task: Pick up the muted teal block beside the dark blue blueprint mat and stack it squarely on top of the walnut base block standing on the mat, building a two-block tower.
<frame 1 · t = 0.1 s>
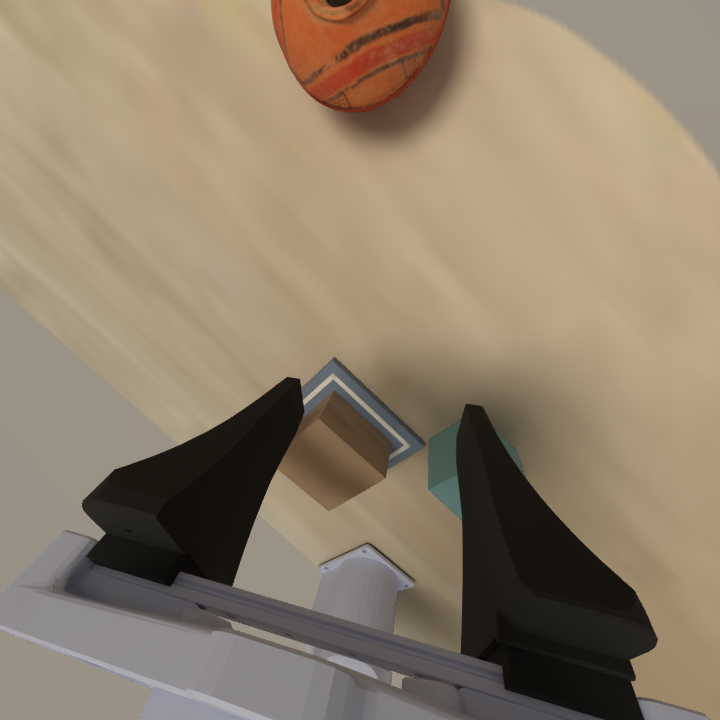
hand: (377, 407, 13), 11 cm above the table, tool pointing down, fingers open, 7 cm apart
blueprint mat: (339, 432, 28), on the table
spinning top toy: (372, 38, 16), on the table
walnut base block: (338, 436, 27), point 1 cm above the table, touching blueprint mat
teal block: (471, 444, 25), on the table
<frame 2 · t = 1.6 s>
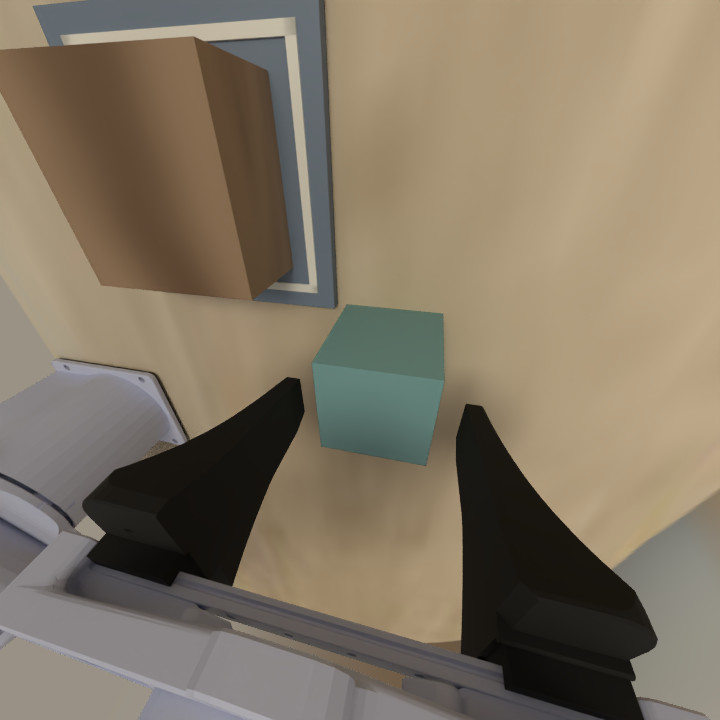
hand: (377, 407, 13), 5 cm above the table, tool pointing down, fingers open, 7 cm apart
blueprint mat: (217, 181, 14), on the table
walnut base block: (209, 183, 13), point 1 cm above the table, touching blueprint mat
teal block: (390, 348, 17), on the table
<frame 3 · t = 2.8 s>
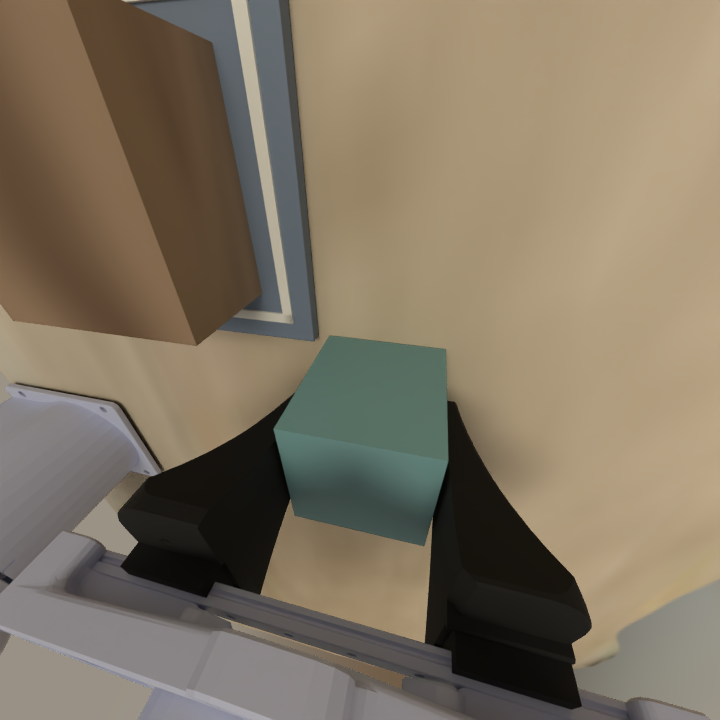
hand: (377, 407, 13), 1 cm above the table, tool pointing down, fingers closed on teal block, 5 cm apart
blueprint mat: (165, 188, 11), on the table
walnut base block: (152, 190, 10), point 1 cm above the table, touching blueprint mat
teal block: (382, 386, 14), on the table, touching gripper
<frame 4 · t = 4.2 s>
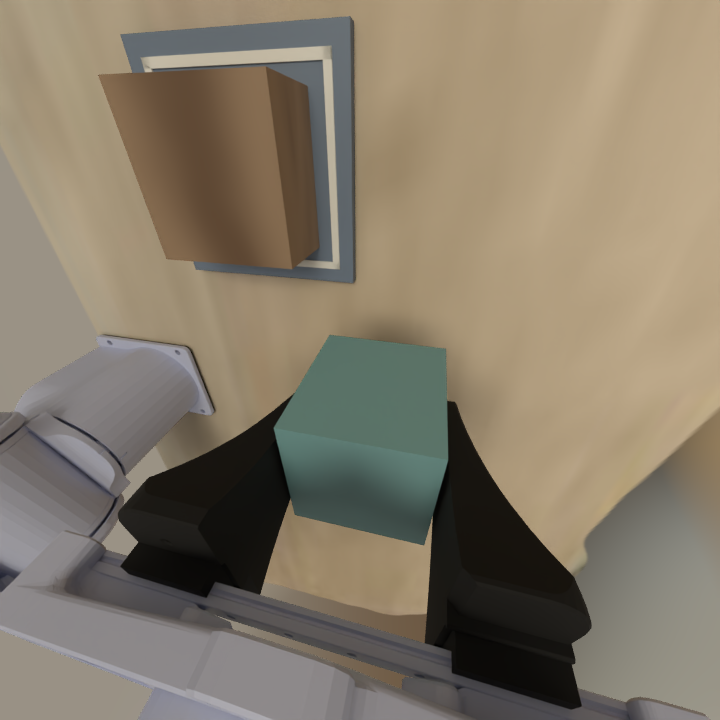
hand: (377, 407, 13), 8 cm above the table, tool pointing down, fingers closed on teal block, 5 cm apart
blueprint mat: (258, 175, 16), on the table
walnut base block: (252, 175, 16), point 1 cm above the table, touching blueprint mat
teal block: (383, 386, 14), point 7 cm above the table, touching gripper
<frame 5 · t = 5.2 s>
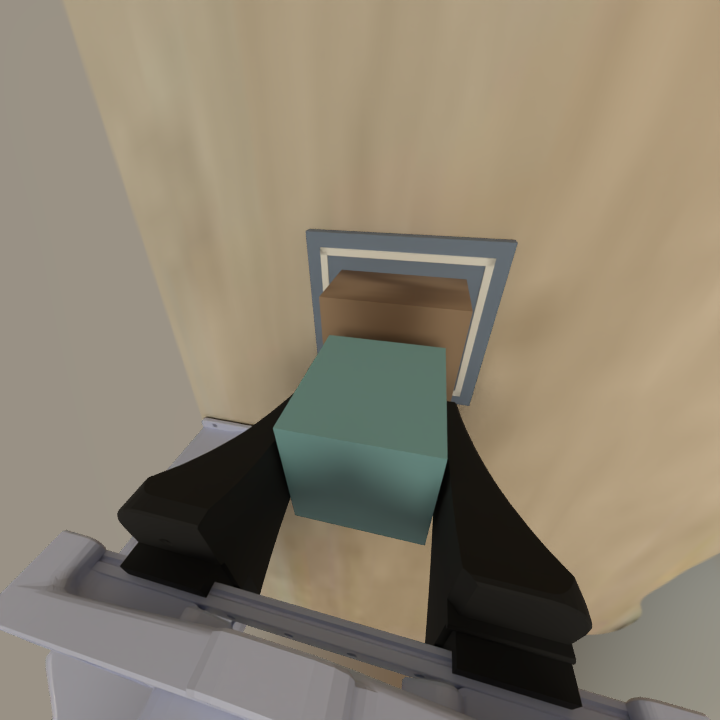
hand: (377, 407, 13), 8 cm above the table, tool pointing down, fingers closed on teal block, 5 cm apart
blueprint mat: (398, 324, 19), on the table
walnut base block: (397, 328, 19), point 1 cm above the table, touching blueprint mat
teal block: (383, 386, 14), point 6 cm above the table, touching gripper
when the fingers open (7 cm above the table, at t = 5.8 s): teal block stays where it is, resting on walnut base block.
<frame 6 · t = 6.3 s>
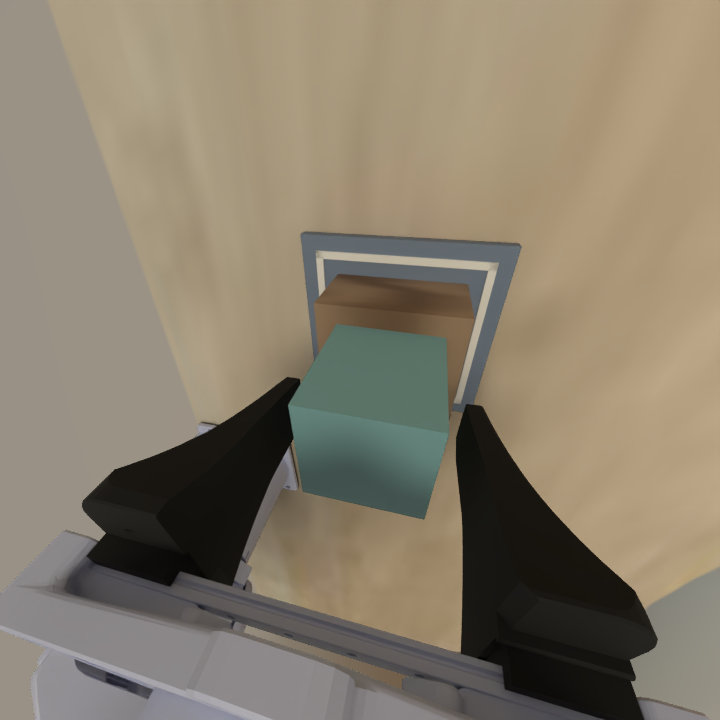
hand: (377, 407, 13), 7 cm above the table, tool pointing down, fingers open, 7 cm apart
blueprint mat: (397, 329, 19), on the table
walnut base block: (395, 334, 18), point 1 cm above the table, touching blueprint mat, teal block
teal block: (386, 374, 15), point 5 cm above the table, touching walnut base block
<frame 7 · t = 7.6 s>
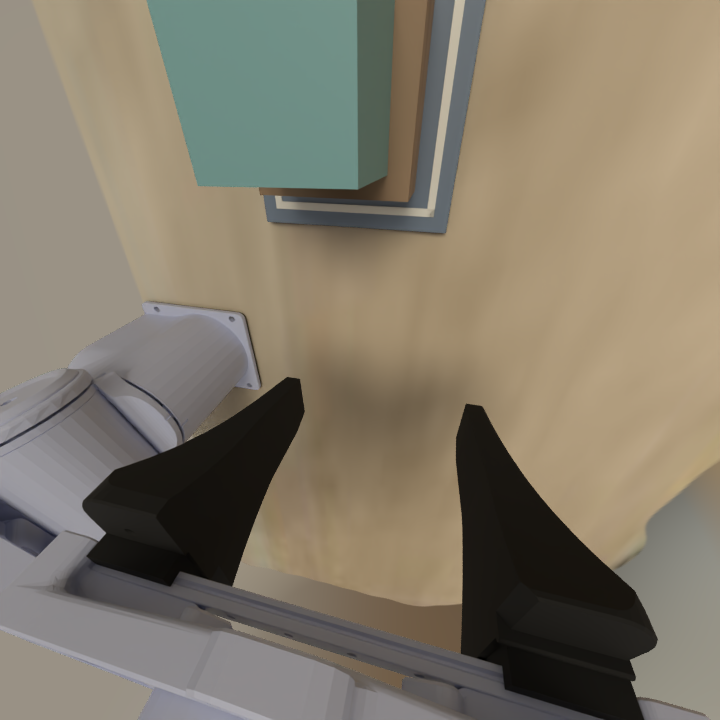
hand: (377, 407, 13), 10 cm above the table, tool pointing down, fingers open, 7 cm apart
blueprint mat: (354, 108, 15), on the table
walnut base block: (351, 107, 15), point 1 cm above the table, touching blueprint mat, teal block
teal block: (326, 98, 12), point 5 cm above the table, touching walnut base block
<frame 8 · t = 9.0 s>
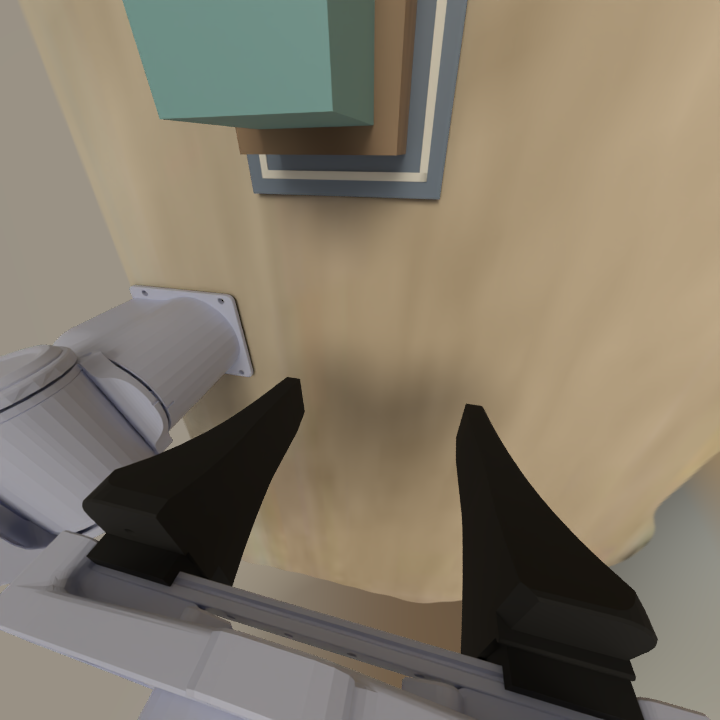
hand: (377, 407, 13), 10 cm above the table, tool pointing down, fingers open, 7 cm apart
blueprint mat: (340, 64, 14), on the table
walnut base block: (337, 62, 14), point 1 cm above the table, touching blueprint mat, teal block
teal block: (306, 39, 11), point 5 cm above the table, touching walnut base block
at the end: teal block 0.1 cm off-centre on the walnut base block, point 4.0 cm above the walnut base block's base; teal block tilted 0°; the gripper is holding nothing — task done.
